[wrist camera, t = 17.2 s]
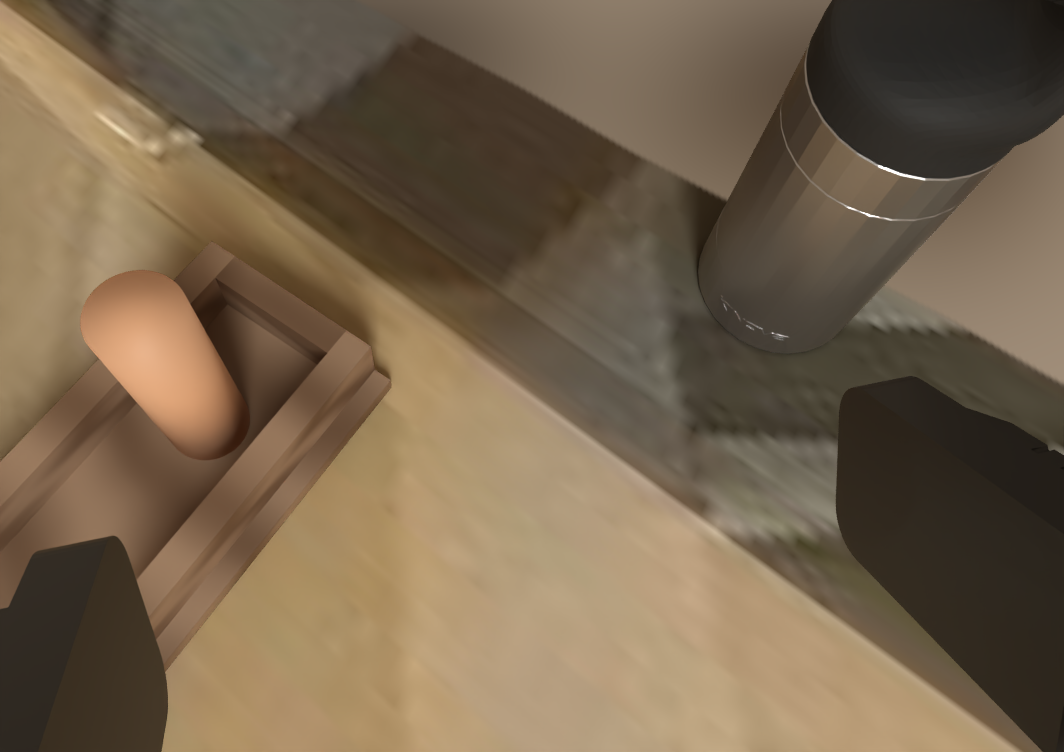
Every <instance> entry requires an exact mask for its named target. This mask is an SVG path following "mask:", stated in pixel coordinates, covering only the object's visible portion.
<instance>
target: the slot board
mask: <svg viewBox="0 0 1064 752" xmlns="http://www.w3.org/2000/svg"><path fill="white" fill-rule="evenodd" d="M174 282H176V283H177V284H178V285H179V286H180V288H181V289H182V291H183V292H184V294H185V296H186V297H187V299H188V301H189V303H190V305H191V306H192V308H193V310H194V312H195V313H196V315H197V317H198V319H199V321H200V322H201V324H202V326H203V328H204V329H205V331H206V333H207V335H208V337H209V338H210V340H211V342H212V344H213V345H214V347H215V349H216V351H217V352H218V354H219V356H220V358H221V360H222V361H223V363H224V365H225V367H226V368H227V370H228V372H229V374H230V376H231V377H232V379H233V381H234V383H235V384H236V386H237V388H238V390H239V392H240V393H241V395H242V397H243V399H244V400H245V402H246V404H247V406H248V409H249V413H250V425H249V429H248V432H247V435H246V436H245V438H244V440H243V441H242V443H241V444H240V445H239V446H238V447H237V448H236V449H235V450H233V451H232V452H231V453H229V454H227V455H225V456H223V457H221V458H218V459H213V460H196V459H193V458H190V457H187V456H185V455H184V454H182V453H181V452H180V451H178V450H177V449H176V447H175V446H174V445H173V444H172V443H171V442H170V441H169V439H168V438H167V437H166V436H165V435H164V434H163V432H162V431H161V430H160V429H159V428H158V427H157V425H156V424H155V423H154V422H153V421H152V420H151V418H150V417H149V416H148V415H147V414H146V413H145V411H144V410H143V409H142V408H141V407H140V406H139V404H138V403H137V402H136V401H135V400H134V399H133V398H132V396H131V395H130V394H129V393H128V392H127V391H126V389H125V388H124V387H123V386H122V385H121V384H120V382H119V381H118V380H117V379H116V378H115V377H114V375H113V374H112V373H111V372H110V371H109V370H108V368H107V367H106V366H105V365H104V364H103V363H102V361H101V360H100V359H98V360H97V361H96V362H95V363H94V364H93V365H92V366H91V367H90V368H89V370H88V371H87V372H86V373H85V374H84V375H83V376H82V377H81V378H80V379H79V380H78V381H77V382H76V383H75V384H74V385H73V386H72V387H71V388H70V389H69V390H68V391H67V393H66V394H65V395H64V396H63V397H62V398H61V399H60V400H59V401H58V402H57V403H56V404H55V405H54V406H53V407H52V408H51V409H50V410H49V411H48V412H47V413H46V414H45V416H44V417H43V418H42V419H41V420H40V421H39V422H38V423H37V424H36V425H35V426H34V427H33V428H32V429H31V430H30V431H29V432H28V433H27V434H26V435H25V436H24V437H23V439H22V440H21V441H20V442H19V443H18V444H17V445H16V446H15V447H14V448H13V449H12V450H11V451H10V452H9V453H8V454H7V455H6V456H5V457H4V458H3V459H2V460H1V462H0V609H2V608H7V607H9V605H10V602H11V600H12V598H13V596H14V594H15V591H16V589H17V587H18V585H19V583H20V580H21V578H22V576H23V574H24V571H25V569H26V567H27V565H28V563H29V560H30V558H31V557H32V555H33V554H34V553H35V552H36V551H39V550H44V549H49V548H54V547H59V546H64V545H69V544H74V543H79V542H84V541H89V540H94V539H98V538H103V537H108V536H116V537H118V538H119V539H120V540H121V542H122V543H123V545H124V547H125V549H126V551H127V554H128V556H129V559H130V562H131V565H132V568H133V571H134V574H135V577H136V580H137V583H138V586H139V589H140V592H141V595H142V598H143V601H144V605H145V608H146V611H147V614H148V617H149V620H150V623H151V626H152V629H153V632H154V635H155V638H156V641H157V644H158V647H159V650H160V653H161V656H162V660H163V664H164V669H165V671H166V670H167V669H168V667H169V666H170V665H171V664H172V662H173V661H174V660H175V659H176V657H177V656H178V655H179V654H180V652H181V651H182V650H183V649H184V647H185V646H186V645H187V644H188V642H189V641H190V640H191V638H192V637H193V636H194V635H195V633H196V632H197V631H198V630H199V628H200V627H201V626H202V625H203V623H204V622H205V621H206V620H207V618H208V617H209V616H210V615H211V613H212V612H213V611H214V610H215V608H216V607H217V606H218V605H219V603H220V602H221V601H222V599H223V598H224V597H225V596H226V594H227V593H228V592H229V591H230V589H231V588H232V587H233V586H234V584H235V583H236V582H237V581H238V579H239V578H240V577H241V576H242V574H243V573H244V572H245V571H246V569H247V568H248V567H249V566H250V564H251V563H252V562H253V560H254V559H255V558H256V557H257V555H258V554H259V553H260V552H261V550H262V549H263V548H264V547H265V545H266V544H267V543H268V542H269V540H270V539H271V538H272V537H273V535H274V534H275V533H276V532H277V530H278V529H279V528H280V527H281V525H282V524H283V523H284V521H285V520H286V519H287V518H288V516H289V515H290V514H291V513H292V511H293V510H294V509H295V508H296V506H297V505H298V504H299V503H300V501H301V500H302V499H303V498H304V496H305V495H306V494H307V493H308V491H309V490H310V489H311V488H312V486H313V485H314V484H315V483H316V481H317V480H318V479H319V477H320V476H321V475H322V474H323V472H324V471H325V470H326V469H327V467H328V466H329V465H330V464H331V462H332V461H333V460H334V459H335V457H336V456H337V455H338V454H339V452H340V451H341V450H342V449H343V447H344V446H345V445H346V444H347V442H348V441H349V440H350V438H351V437H352V436H353V435H354V433H355V432H356V431H357V430H358V428H359V427H360V426H361V425H362V423H363V422H364V421H365V420H366V418H367V417H368V416H369V415H370V413H371V412H372V411H373V410H374V408H375V407H376V406H377V405H378V403H379V402H380V401H381V399H382V398H383V397H384V396H385V394H386V393H387V392H388V391H389V389H390V388H391V381H390V379H388V378H387V377H385V376H384V375H382V374H381V373H379V372H378V371H376V370H375V367H374V361H373V355H372V349H371V346H370V345H368V344H367V343H365V342H364V341H362V340H360V339H359V338H357V337H356V336H354V335H353V334H351V333H350V332H348V331H347V330H345V329H344V328H342V327H341V326H339V325H338V324H336V323H335V322H333V321H332V320H330V319H329V318H327V317H326V316H324V315H323V314H321V313H320V312H318V311H317V310H315V309H314V308H312V307H311V306H309V305H308V304H306V303H305V302H303V301H302V300H300V299H299V298H297V297H296V296H294V295H293V294H291V293H290V292H288V291H287V290H285V289H284V288H282V287H281V286H279V285H278V284H276V283H275V282H273V281H271V280H270V279H268V278H267V277H265V276H264V275H262V274H261V273H259V272H258V271H256V270H255V269H253V268H252V267H250V266H249V265H247V264H246V263H244V262H243V261H241V260H240V259H238V258H237V257H235V256H234V255H232V254H231V253H229V252H228V251H226V250H225V249H223V248H222V247H220V246H219V245H217V244H216V243H214V242H213V241H211V242H210V243H209V244H208V245H207V246H206V247H205V248H204V249H203V250H202V251H201V252H200V253H199V255H198V256H197V257H196V258H195V259H194V260H193V261H192V262H191V263H190V264H189V265H188V266H187V267H186V268H185V269H184V270H183V271H182V272H181V273H180V274H179V275H178V276H177V278H176V279H175V280H174Z"/></svg>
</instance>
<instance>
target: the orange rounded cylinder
mask: <svg viewBox="0 0 1064 752" xmlns="http://www.w3.org/2000/svg"><path fill="white" fill-rule="evenodd" d="M80 325H81V332H82V335H83V338H84V340H85V342H86V343H87V345H88V346H89V348H90V349H91V350H92V351H93V352H94V353H95V354H96V356H97V357H98V358H99V359H100V360H101V361H102V363H103V364H104V365H105V366H106V367H107V368H108V370H109V371H110V372H111V373H112V374H113V375H114V377H115V378H116V379H117V380H118V381H119V382H120V384H121V385H122V386H123V387H124V388H125V389H126V391H127V392H128V393H129V394H130V395H131V396H132V398H133V399H134V400H135V401H136V402H137V403H138V404H139V406H140V407H141V408H142V409H143V410H144V411H145V413H146V414H147V415H148V416H149V417H150V418H151V420H152V421H153V422H154V423H155V424H156V425H157V427H158V428H159V429H160V430H161V431H162V432H163V434H164V435H165V436H166V437H167V438H168V439H169V441H170V442H171V443H172V444H173V445H174V446H175V447H176V449H177V450H178V451H180V452H181V453H182V454H184V455H185V456H187V457H190V458H193V459H196V460H213V459H218V458H221V457H223V456H225V455H227V454H229V453H231V452H232V451H233V450H235V449H236V448H237V447H238V446H239V445H240V444H241V443H242V441H243V440H244V438H245V436H246V435H247V432H248V429H249V425H250V413H249V409H248V406H247V404H246V402H245V400H244V399H243V397H242V395H241V393H240V392H239V390H238V388H237V386H236V384H235V383H234V381H233V379H232V377H231V376H230V374H229V372H228V370H227V368H226V367H225V365H224V363H223V361H222V360H221V358H220V356H219V354H218V352H217V351H216V349H215V347H214V345H213V344H212V342H211V340H210V338H209V337H208V335H207V333H206V331H205V329H204V328H203V326H202V324H201V322H200V321H199V319H198V317H197V315H196V313H195V312H194V310H193V308H192V306H191V305H190V303H189V301H188V299H187V297H186V296H185V294H184V292H183V291H182V289H181V288H180V286H179V285H178V284H177V283H176V282H174V281H173V280H172V279H170V278H169V277H167V276H165V275H163V274H160V273H157V272H153V271H147V270H136V271H129V272H124V273H121V274H118V275H116V276H113V277H111V278H109V279H108V280H106V281H104V282H103V283H102V284H100V285H99V286H98V287H97V288H96V289H95V290H94V291H93V292H92V293H91V294H90V296H89V297H88V299H87V300H86V302H85V304H84V307H83V310H82V313H81V320H80Z"/></svg>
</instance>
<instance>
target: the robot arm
mask: <svg viewBox="0 0 1064 752" xmlns="http://www.w3.org/2000/svg"><path fill="white" fill-rule="evenodd" d="M1063 115H1064V0H832V2H831V3H830V5H829V6H828V8H827V9H826V11H825V13H824V15H823V17H822V19H821V21H820V23H819V25H818V27H817V29H816V31H815V33H814V34H813V36H812V39H811V41H810V43H809V46H808V47H807V50H806V51H805V53H804V55H803V57H802V59H801V61H800V63H799V64H798V67H797V68H796V70H795V72H794V74H793V76H792V78H791V80H790V82H789V84H788V86H787V88H786V90H785V92H784V94H783V96H782V98H781V100H780V102H779V104H778V105H777V108H776V110H775V112H774V113H773V115H772V117H771V119H770V121H769V123H768V125H767V127H766V128H765V130H764V132H763V134H762V136H761V138H760V140H759V142H758V144H757V146H756V148H755V149H754V151H753V153H752V155H751V157H750V159H749V161H748V163H747V165H746V167H745V169H744V171H743V173H742V174H741V176H740V178H739V180H738V182H737V184H736V186H735V188H734V190H733V192H732V193H731V195H730V197H729V199H728V201H727V203H726V205H725V207H724V208H723V210H722V212H721V214H720V216H719V218H718V220H717V222H716V224H715V225H714V227H713V229H712V231H711V233H710V235H709V237H708V239H707V241H706V243H705V245H704V248H703V250H702V253H701V255H700V259H699V267H698V277H699V286H700V290H701V293H702V295H703V298H704V301H705V303H706V305H707V307H708V308H709V310H710V311H711V313H712V315H713V316H714V318H715V319H716V320H717V321H718V322H719V323H720V324H721V325H722V326H723V327H724V329H726V330H727V331H728V332H730V333H731V334H732V335H734V336H735V337H736V338H738V339H739V340H741V341H743V342H745V343H747V344H749V345H751V346H753V347H755V348H758V349H762V350H765V351H769V352H775V353H786V354H791V353H800V352H806V351H809V350H812V349H815V348H818V347H820V346H822V345H823V344H825V343H827V342H828V341H830V340H832V339H833V338H834V337H835V336H836V335H837V334H838V333H839V332H840V331H841V330H842V329H843V328H844V326H845V325H846V324H847V323H848V322H849V321H850V320H851V319H852V318H853V317H854V316H855V315H856V314H857V313H858V312H859V311H860V310H861V309H862V308H863V307H864V306H865V305H866V304H867V303H868V302H869V301H870V300H871V299H872V298H873V297H874V296H875V294H876V293H877V292H878V291H879V290H880V289H881V288H882V287H883V286H884V285H885V284H886V283H887V282H888V281H889V279H891V277H892V276H893V275H894V274H895V273H896V272H897V271H898V270H899V269H900V268H901V267H902V266H903V265H904V264H905V263H906V262H907V260H908V259H909V258H910V257H911V256H912V255H913V254H914V253H915V252H916V251H917V250H918V249H919V248H920V247H921V246H922V245H923V244H924V242H925V241H926V240H927V239H928V238H929V237H930V236H931V235H932V234H933V233H934V232H935V231H936V230H937V229H938V228H939V227H940V225H941V224H942V223H943V222H944V221H945V220H946V219H947V218H948V217H949V216H950V215H951V214H952V213H953V212H954V211H955V210H956V208H957V207H958V206H959V205H960V204H961V203H962V202H963V201H964V200H965V199H966V198H967V196H968V195H969V194H970V193H971V192H972V191H973V190H974V189H975V188H976V187H977V186H978V184H979V183H980V182H981V181H982V180H983V179H984V178H985V177H986V176H987V175H988V174H989V173H990V172H991V171H992V170H993V168H995V166H996V165H997V164H998V163H999V162H1000V161H1001V160H1002V159H1003V158H1004V157H1005V156H1006V155H1007V153H1009V152H1010V150H1012V148H1013V147H1014V146H1016V145H1019V144H1022V143H1024V142H1026V141H1028V140H1030V139H1032V138H1034V137H1036V136H1038V135H1039V134H1041V133H1042V132H1044V131H1045V130H1046V129H1048V128H1049V127H1050V126H1051V125H1053V124H1054V123H1055V122H1056V121H1057V120H1058V119H1059V118H1061V117H1062V116H1063ZM1047 446H1048V445H1046V444H1045V443H1043V442H1041V441H1040V440H1038V439H1037V438H1035V437H1033V436H1032V435H1030V434H1028V433H1027V432H1025V431H1024V430H1022V429H1020V428H1019V427H1017V426H1015V425H1014V424H1012V423H1010V422H1007V421H1004V420H1001V419H998V418H995V417H992V416H989V415H986V414H983V413H980V412H977V411H974V410H971V409H968V408H965V407H964V406H962V405H960V404H959V403H957V402H956V401H954V400H953V399H951V398H950V397H948V396H946V395H945V394H943V393H942V392H940V391H939V390H937V389H935V388H934V387H932V386H931V385H929V384H928V383H926V382H924V381H923V380H921V379H919V378H917V377H913V376H908V377H903V378H898V379H893V380H888V381H883V382H878V383H873V384H868V385H863V386H858V387H853V388H850V389H848V390H847V391H846V392H845V394H844V395H843V397H842V400H841V404H840V410H839V433H838V459H837V485H836V514H837V520H838V524H839V528H840V531H841V534H842V537H843V539H844V541H845V543H846V545H847V547H848V549H849V551H850V552H851V553H852V555H853V556H854V557H855V558H856V560H857V561H858V562H859V563H860V564H861V565H862V566H863V567H864V568H865V569H866V570H867V571H868V572H869V573H870V574H871V575H872V576H873V577H874V578H875V579H876V580H877V581H878V582H879V583H880V584H881V585H882V586H883V587H884V588H885V590H886V591H887V592H888V593H889V594H890V595H891V596H892V597H893V598H894V599H895V600H896V601H897V602H898V603H899V604H900V605H901V606H902V607H903V608H904V609H905V610H906V611H907V612H908V613H909V614H910V615H911V616H912V617H913V618H914V619H915V620H916V621H917V622H918V624H919V625H920V626H921V627H922V628H923V629H924V630H925V631H926V632H927V633H928V634H929V635H930V636H931V637H932V638H933V639H934V640H935V641H936V642H937V643H938V644H939V645H940V646H941V647H942V648H943V649H944V650H945V651H946V652H947V653H948V654H949V655H950V656H951V658H952V659H953V660H954V661H955V662H956V663H957V664H958V665H959V666H960V667H961V668H962V669H963V670H964V671H965V672H966V673H967V674H968V675H969V676H970V677H971V678H972V679H973V680H974V681H975V682H976V683H977V684H978V685H979V686H980V687H981V688H982V689H983V690H984V691H985V693H986V694H987V695H988V696H989V697H990V698H991V699H992V700H993V701H994V702H995V703H996V704H997V705H998V706H999V707H1000V708H1001V709H1002V710H1003V711H1004V712H1005V713H1006V714H1007V715H1008V716H1009V717H1010V718H1011V719H1012V720H1013V721H1014V722H1015V723H1016V724H1017V725H1018V727H1019V728H1020V729H1021V730H1022V731H1023V732H1024V733H1025V734H1026V735H1027V736H1028V737H1029V738H1030V739H1031V740H1032V741H1033V742H1034V743H1035V744H1036V745H1037V746H1038V747H1039V748H1040V749H1041V750H1042V751H1043V752H1064V455H1062V454H1061V453H1059V452H1058V451H1056V450H1051V451H1049V450H1048V447H1047ZM167 713H168V693H167V682H166V675H165V669H164V664H163V660H162V656H161V653H160V650H159V647H158V644H157V641H156V638H155V635H154V632H153V629H152V626H151V623H150V620H149V617H148V614H147V611H146V608H145V605H144V601H143V598H142V595H141V592H140V589H139V586H138V583H137V580H136V577H135V574H134V571H133V568H132V565H131V562H130V559H129V556H128V554H127V551H126V549H125V547H124V545H123V543H122V542H121V540H120V539H119V538H118V537H116V536H108V537H103V538H98V539H94V540H89V541H84V542H79V543H74V544H69V545H64V546H59V547H54V548H49V549H44V550H39V551H36V552H35V553H34V554H33V555H32V557H31V558H30V560H29V563H28V565H27V567H26V569H25V571H24V574H23V576H22V578H21V580H20V583H19V585H18V587H17V589H16V591H15V594H14V596H13V598H12V600H11V602H10V605H9V607H7V608H2V609H0V752H161V751H162V745H163V739H164V733H165V727H166V721H167Z"/></svg>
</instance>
